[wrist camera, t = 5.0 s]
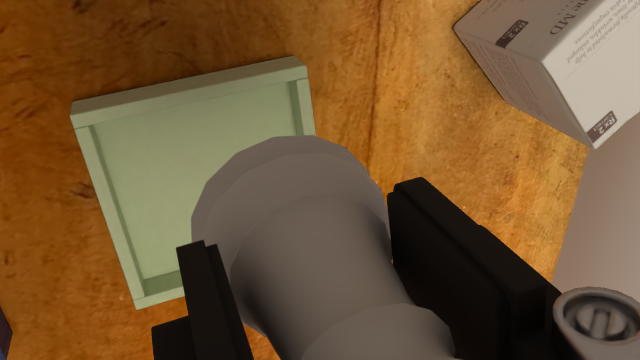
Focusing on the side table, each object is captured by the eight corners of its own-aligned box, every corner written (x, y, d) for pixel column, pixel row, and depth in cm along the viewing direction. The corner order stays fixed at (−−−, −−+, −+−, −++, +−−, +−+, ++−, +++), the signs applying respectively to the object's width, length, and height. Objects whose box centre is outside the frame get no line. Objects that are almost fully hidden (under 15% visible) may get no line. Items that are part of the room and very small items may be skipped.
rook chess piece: (342, 297, 15) (531, 614, 8) (171, 291, 14) (235, 683, 7) (391, 141, 14) (671, 373, 7) (207, 111, 12) (335, 381, 5)
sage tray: (71, 101, 25) (68, 115, 23) (294, 54, 27) (306, 64, 26) (134, 287, 30) (136, 310, 28) (320, 234, 32) (332, 252, 30)
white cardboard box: (535, -59, 29) (654, -49, 23) (584, 28, 32) (700, 58, 26) (447, 29, 29) (540, 62, 23) (504, 106, 33) (599, 154, 26)
